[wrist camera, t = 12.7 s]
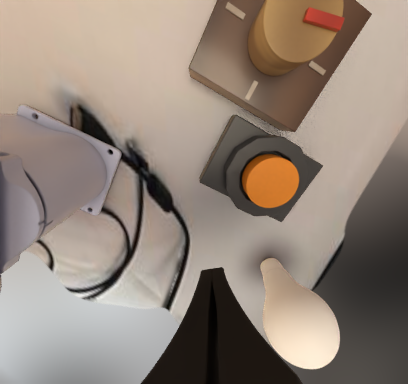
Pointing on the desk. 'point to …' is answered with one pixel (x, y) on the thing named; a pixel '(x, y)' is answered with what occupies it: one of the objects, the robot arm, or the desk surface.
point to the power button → (270, 180)
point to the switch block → (244, 153)
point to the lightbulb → (297, 319)
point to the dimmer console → (256, 80)
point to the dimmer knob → (292, 33)
